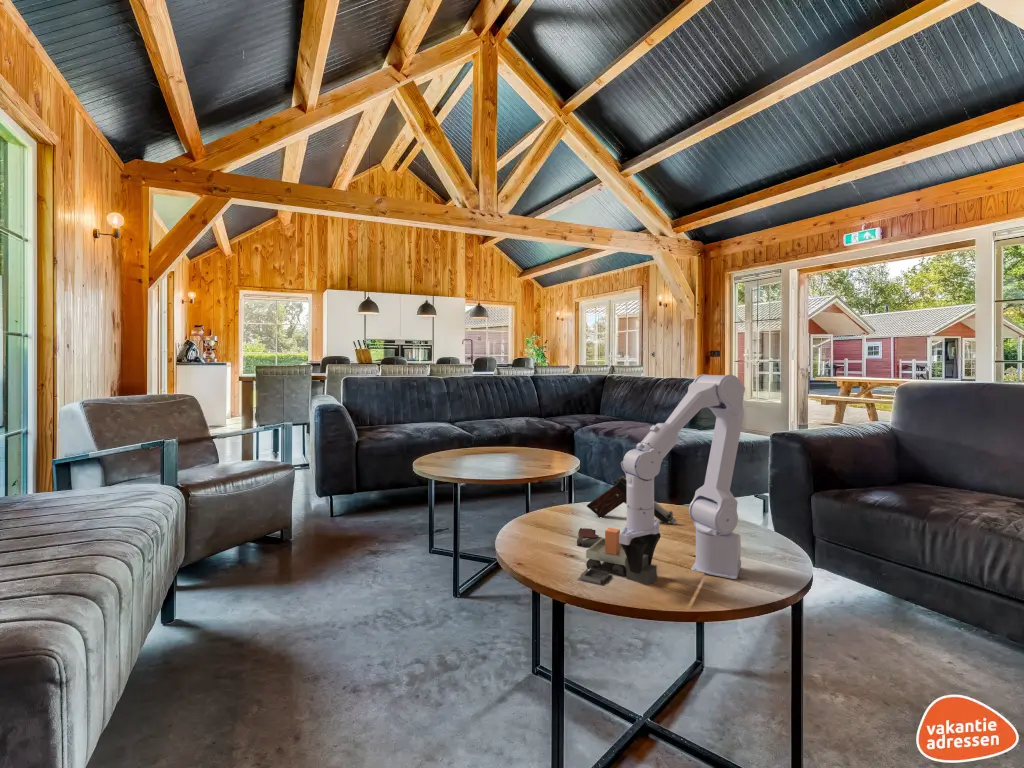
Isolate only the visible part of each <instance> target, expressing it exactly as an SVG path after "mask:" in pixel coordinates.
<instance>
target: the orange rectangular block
mask: <svg viewBox="0 0 1024 768" xmlns="http://www.w3.org/2000/svg"><path fill="white" fill-rule="evenodd" d="M604 531H605V532H604V538H605V553H611V554H617V553H618V552H619V551H620V543H619V534H620V533H621V529H619V528H615V527H608V528H607V529H606V530H604Z"/></svg>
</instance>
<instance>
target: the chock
mask: <svg viewBox="0 0 1024 768" xmlns="http://www.w3.org/2000/svg"><path fill="white" fill-rule="evenodd" d="M648 560H649V559H648V555H645V554H643V559H642V568H641V572H640V573H639V574H638V573H634V572H631V571H630V568H629V564H628V560H627V557H626V574H625V575H626V580H629V581H633V582H635V583H639V584H642V585H646V586H649V585H651V584H652V583H654V582H655V581H657V580H658V579H657V578H658V575H657V573H658V572H657V571H658V569H657V565H652V564H651V565H649V564H648Z"/></svg>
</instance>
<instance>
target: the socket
mask: <svg viewBox="0 0 1024 768" xmlns="http://www.w3.org/2000/svg"><path fill="white" fill-rule="evenodd" d="M613 576H614V574H610V572H609V571H605V570H601V569H599V570H597V569H592V568H590V569H587V568H586V569H585V570H584V571H583V572H582V573H580V576H579V577H578V578H577V579H576V581H579V582H583V583H589V584H593V585H596V586H597V585H598V586H603V587H604V586H605V585H607V583H608V582H609V581H610V580H611V579H612V578H613Z"/></svg>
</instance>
